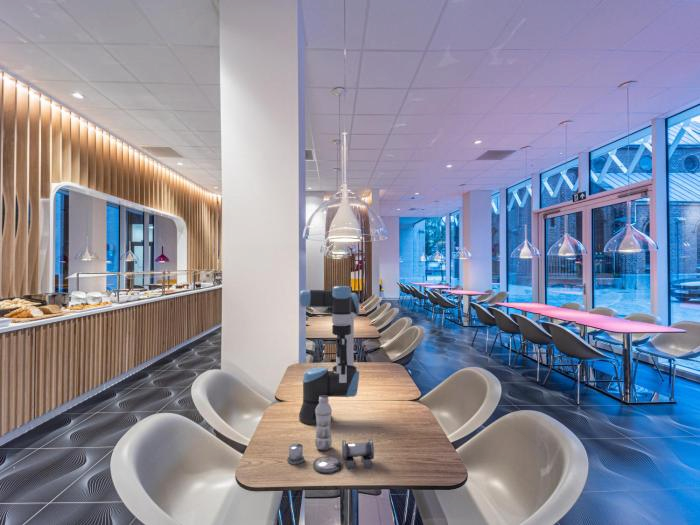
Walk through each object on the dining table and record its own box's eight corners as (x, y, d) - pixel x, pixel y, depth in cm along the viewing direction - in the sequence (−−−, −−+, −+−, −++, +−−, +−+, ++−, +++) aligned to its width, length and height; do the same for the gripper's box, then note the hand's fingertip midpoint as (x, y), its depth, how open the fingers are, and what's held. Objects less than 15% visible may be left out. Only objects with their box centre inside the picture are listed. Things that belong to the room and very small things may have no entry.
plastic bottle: (325, 454, 137) (326, 400, 138) (311, 449, 141) (311, 397, 141) (335, 447, 142) (335, 395, 143) (321, 443, 146) (321, 392, 147)
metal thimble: (283, 461, 131) (284, 447, 131) (294, 455, 136) (294, 441, 136) (296, 466, 128) (296, 452, 128) (307, 459, 133) (307, 445, 133)
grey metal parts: (313, 474, 123) (313, 450, 123) (312, 459, 132) (312, 437, 133) (375, 470, 126) (375, 446, 126) (369, 456, 135) (369, 434, 136)
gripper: (354, 328, 134) (354, 386, 133) (347, 320, 159) (347, 369, 158) (334, 329, 133) (334, 387, 132) (330, 320, 158) (330, 369, 157)
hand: (341, 377), depth 145 cm, fingers open, 13 cm apart
